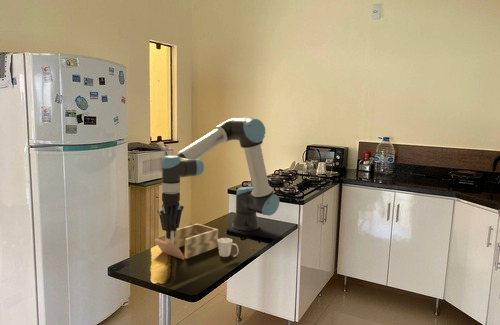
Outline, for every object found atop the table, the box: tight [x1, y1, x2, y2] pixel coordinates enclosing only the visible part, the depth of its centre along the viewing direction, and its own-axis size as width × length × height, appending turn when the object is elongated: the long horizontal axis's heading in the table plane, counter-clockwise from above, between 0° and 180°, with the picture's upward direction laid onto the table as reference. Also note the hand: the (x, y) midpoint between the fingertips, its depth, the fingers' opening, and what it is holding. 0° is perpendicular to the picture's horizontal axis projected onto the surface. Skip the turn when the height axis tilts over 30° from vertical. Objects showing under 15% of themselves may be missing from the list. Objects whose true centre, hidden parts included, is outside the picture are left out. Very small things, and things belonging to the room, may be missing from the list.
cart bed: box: [164, 223, 219, 260], centre depth 178 cm, size 20×14×10 cm
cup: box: [217, 237, 239, 258], centre depth 171 cm, size 7×10×8 cm
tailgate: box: [153, 237, 186, 261], centre depth 167 cm, size 1×14×9 cm
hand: (170, 245), depth 167 cm, fingers closed
